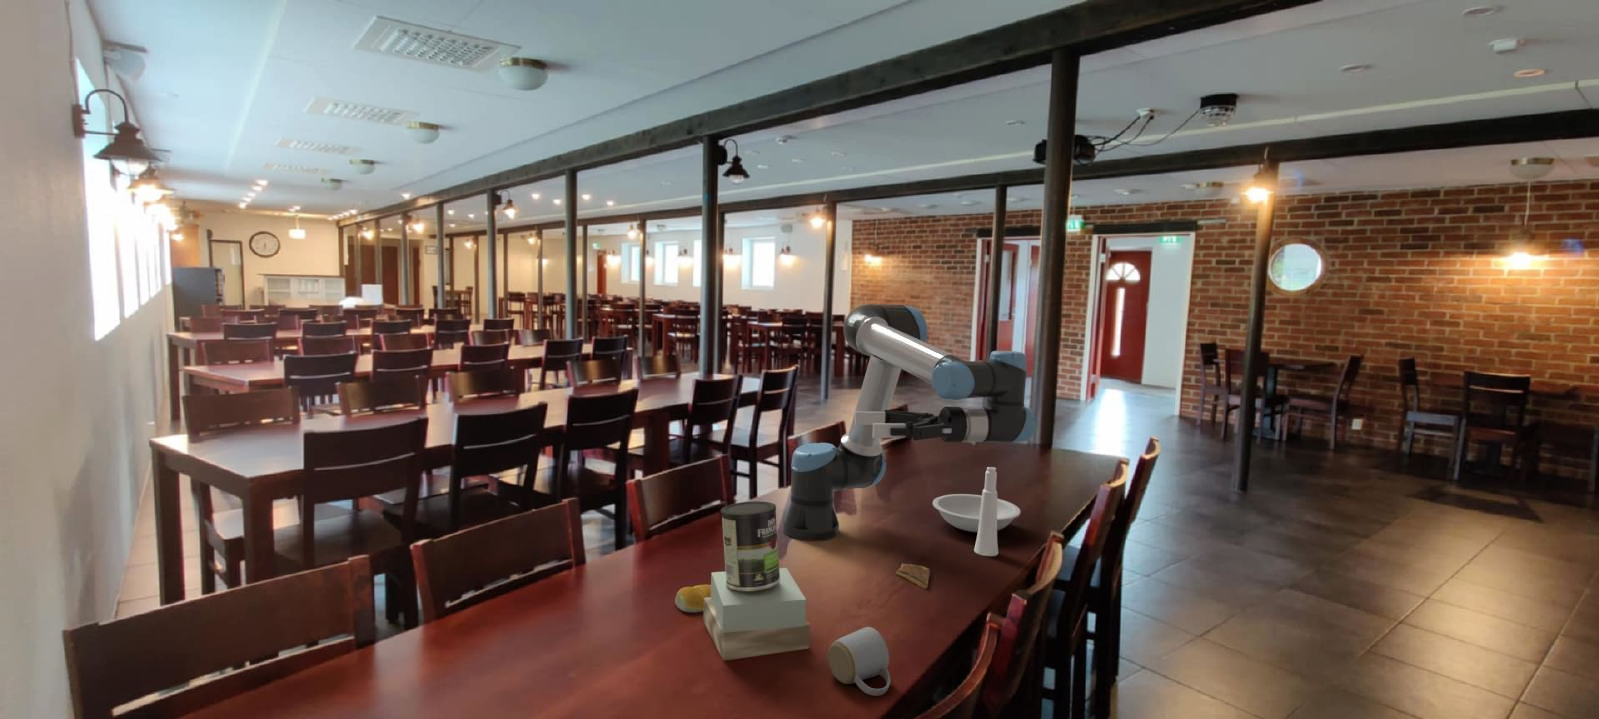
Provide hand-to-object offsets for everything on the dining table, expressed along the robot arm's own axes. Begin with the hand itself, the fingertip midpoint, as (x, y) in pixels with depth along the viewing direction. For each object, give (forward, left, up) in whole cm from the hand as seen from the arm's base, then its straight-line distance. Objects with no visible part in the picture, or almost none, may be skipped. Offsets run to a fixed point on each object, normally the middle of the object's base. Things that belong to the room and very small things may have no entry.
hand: (863, 424), depth 148 cm
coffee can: (+7, -25, -28) cm, 38 cm away
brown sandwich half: (-8, +20, -39) cm, 45 cm away
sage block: (+8, -24, -33) cm, 42 cm away
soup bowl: (-35, +53, -38) cm, 75 cm away
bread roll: (-8, -32, -38) cm, 51 cm away
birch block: (+7, -24, -38) cm, 46 cm away
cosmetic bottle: (-18, +45, -38) cm, 62 cm away
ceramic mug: (+28, -12, -38) cm, 49 cm away
